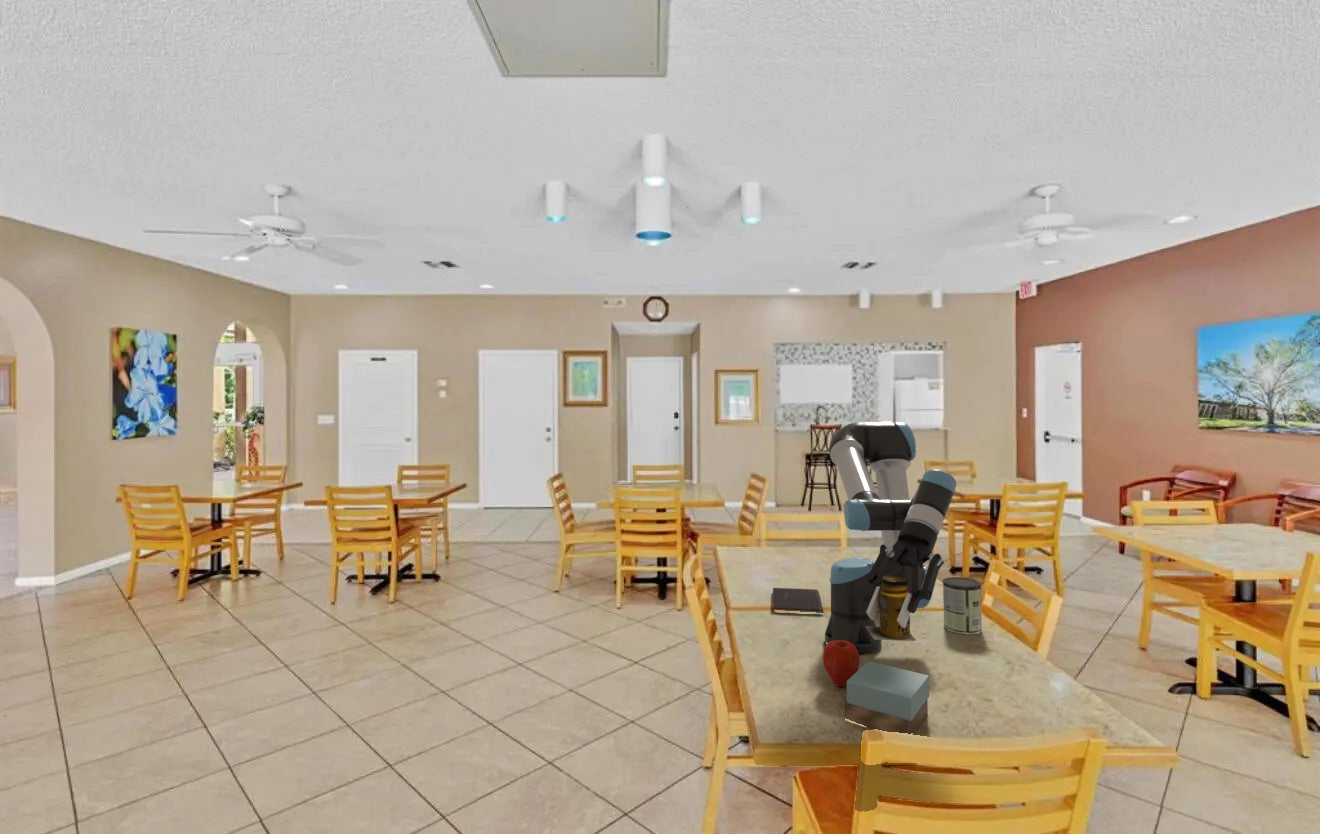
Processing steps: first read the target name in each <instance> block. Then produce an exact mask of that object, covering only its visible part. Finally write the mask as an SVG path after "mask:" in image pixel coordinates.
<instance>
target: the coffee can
mask: <svg viewBox="0 0 1320 834" xmlns="http://www.w3.org/2000/svg"><path fill="white" fill-rule="evenodd" d="M942 594H943V595H942V596H943V597H942V598H943V601H942V602H943V628H944V629H945V630H946V631H949V632H950V631H951V633H953V632H954V634H958V635H964V634H966V636H973V635H974V634H975V635H979V634H981V633H982V632H983V631H982V583H981V582H980V581H978V580H975V579H972V578H968V577H959V576H958V577H956V576H955V577H954V576H953V577H951V576H950V577H946V578H943V579H942Z"/></svg>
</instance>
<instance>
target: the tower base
mask: <svg viewBox="0 0 1320 834" xmlns="http://www.w3.org/2000/svg"><path fill="white" fill-rule="evenodd" d="M928 699H929V698H928ZM928 699H927V700H926V701H925V703H924V704H923V706H922V707H921V708H920V710H919V711H918V713H917V714H916V715H915V717H914V718H913V719H912V721H909V720H905V719H902V718H898V717H895V716H892V715H888V714H885V713H881V712H878V711H874V710H871V709H867V708H864V707H860V706H857V705H853V704H850V703H847V699H846V700H845V701H844V707H843V708H844V719H845V718H846V719H849V720H851V721H854V722H856V723H858V724H862V725H864V726H866V727H867V728H869V729H868V730H870V729H878V730H882V731H887V732H899V733H908V734H911V733H914V734H915V733H916V732H917V731H918V729H919V728H920V727H919V726H921V725H922V724H923V722H924V721H925V720H926V719H927V718H928V714H929V713H928V709H929V707H928V704H929V703H928V702H929V701H928ZM918 727H919V728H918ZM867 728H866V729H867ZM916 730H917V731H916ZM915 731H916V732H915Z"/></svg>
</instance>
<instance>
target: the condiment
mask: <svg viewBox="0 0 1320 834" xmlns="http://www.w3.org/2000/svg"><path fill="white" fill-rule="evenodd" d="M907 585H908V582H907V580H906V579H905V578H903V577H900V576H891V575H889V576H884V577H882V578H881V589H880V591H879V609H878V611H879V626H877V627H872V626H866V628H867V630H868V632H869V633H870V635H871V636H872V638H873V639H874V640H881V641H896V642H897V641H899V642H900V641H903V642H904V641H906V642H909V641H912V642H914V641H917V639H916V638H915V637H914V636H913V635H912V633H911V615H910V616H909V619H908V622H907V624H906V627H905V628H902V627H901V626H900V624H899V623H898V621H897V619H898V616H899V613H900V611H901V608H902V606H903V603H904V600H905V598H906V595H907V593H909V592H908V591H907V590H908V587H907Z"/></svg>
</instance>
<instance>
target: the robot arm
mask: <svg viewBox="0 0 1320 834" xmlns="http://www.w3.org/2000/svg"><path fill="white" fill-rule="evenodd" d="M912 430H913V429H912V428H911V427H910V426H909V425H908V424H907V423H906V422H902V421H901V422H899V421H898V422H897V421H896V422H895V421H879V422H878V421H877V422H876V421H874V422H872V421H871V422H869V421H868V422H867V421H866V422H865V421H864V422H861V421H860V422H859V421H858V422H850V423H848V424H846V425H844V426H842V427H841V428H839V429H838V430H837V431H836V432H835V433H834V435H833V437H832V438H831V440H830V443H829V445H828V453H829V457H830V459H831V461H832V463H833V464H834V465H835V466H836V467H837V470H838V472H839V476H840V479H841V482H842V484H843V488H844V491H845V494H846V497H847V499H848V500H845V502H844V508H843V514H844V515H843V517H844V518H843V519H844V524H845V526H846V528H848V529H849V530H853V531H862V532H866V531H869V532H870V531H877V532H878V531H880V532H881V540H882V541H881V543H882V544H881V545H880V546H879V553H878V555H877V557H876V558H875V559H876V560H872V559H871V558H866V557H850V558H843V559H841V560H837V561H836V562H834V563H833V564H832V565H831V568H830V576H829V577H830V578H829V582H830V617H829V620H828V623H827V626H826V628H825V632H824V642H825V641H826V642H827V643H829V642H831V641H833V640H845V641H849V642H851V643H852V644H853V645H855V647H856V649H857V651H858V653H869V654H873V652H874V653H877V652H878V651H880V650H881V649H882V640H874V639H873V638H872V636H871V635H870V633H869V632H868V630H867V628H866V626H872V627H878V625H877V622H876V616H877V614H878V611H879V591H880V589H881V578H882V577H884V576H889V575H891V576H900V577H903V578H905V579H906V580H907V582H908V585H907V587H908V590H907V591H908V592H909V593H907V595H906V598H905V600H904V603H903V606H902V608H901V611H900V613H899V616H898V619H897V621H898V623H899V624H900V626H901V627H902V628H905V627H906V624H907V622H908V619H909V616H910V617H911V614H915V613H916V612H917V610H918V609H924V608H926V607H927V606H928V605H929V604H930V602H931V599H932V596H933V592H934V588H935V586H936V585H935V584H936V583H937V582H936V581H937V578H938V575H939V571H940V568H942V566H943V565H944V564H945V563H944V560H943V558H942V555H941V554H939V553H933V551H934V548H935V545H936V543H937V540H938V536H939V534H940V532H941V529H942V526H943V523H944V520H945V517H946V516H947V512H948V510H949V507H950V505H951V503H952V499H953V497H954V495H955V494H956V493H955V492H956V488H957V480H956V479H955V478H954V476H953V475H952V474H950V473H948V472H946V471H943V470H941V469H937V468H936V469H929V470H926V471H925V472H924V473H923V474H922V475H923V476H922V477H921V479H920V481H919V484H918V487H917V490H915V493H914V495H913V496H912V499H910V493H909V485H908V476H907V470H908V468H910V467H911V464H912V463H911V461H913V460H914V459H915V458H916V455H917V450H916V449H917V445H916V439H915V434H914V433H913V431H912ZM866 462H868V464H869V465H868V466H869V469H871V470H872V471H873V472H874V473H875V483H876V486H875V483H874V481H873V479H872V476H871V473H870V470H869V469H868V467H867V464H866ZM928 561H929V564H928V565H927V564H925V563H926V562H928Z"/></svg>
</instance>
